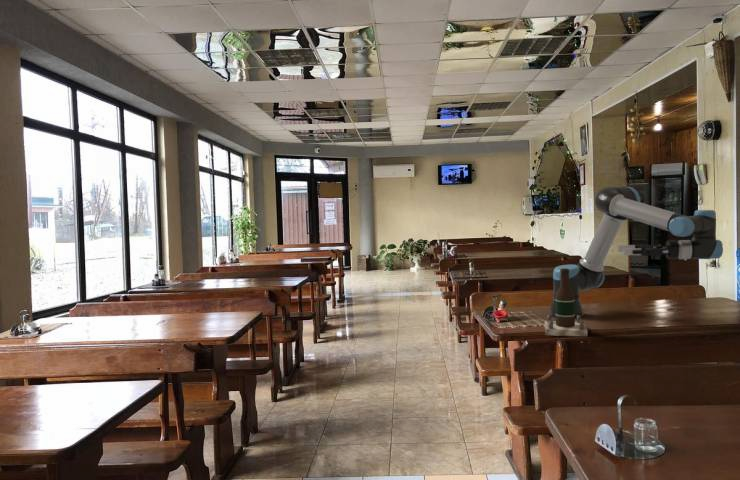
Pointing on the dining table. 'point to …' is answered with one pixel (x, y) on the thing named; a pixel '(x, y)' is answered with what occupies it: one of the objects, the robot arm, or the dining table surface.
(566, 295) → the beer bottle
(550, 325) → the condiment stand
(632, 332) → the dining table surface
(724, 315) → the dining table surface
